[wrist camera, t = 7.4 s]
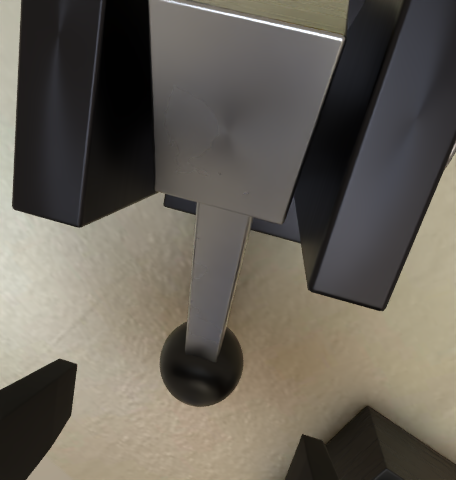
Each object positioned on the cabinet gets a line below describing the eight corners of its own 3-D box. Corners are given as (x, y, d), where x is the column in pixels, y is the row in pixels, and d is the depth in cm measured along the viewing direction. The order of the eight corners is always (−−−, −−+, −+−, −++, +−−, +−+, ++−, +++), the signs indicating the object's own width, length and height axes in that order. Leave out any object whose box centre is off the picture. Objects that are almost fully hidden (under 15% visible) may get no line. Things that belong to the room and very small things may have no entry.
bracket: (315, 239, 14) (374, 439, 5) (171, 201, 15) (-27, 315, 5) (389, 13, 12) (795, -455, 2) (214, -24, 12) (-16, -541, 3)
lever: (244, 353, 15) (226, 428, 13) (175, 332, 15) (148, 404, 13) (377, -14, 5) (389, 55, 3) (189, -54, 6) (96, -10, 4)
